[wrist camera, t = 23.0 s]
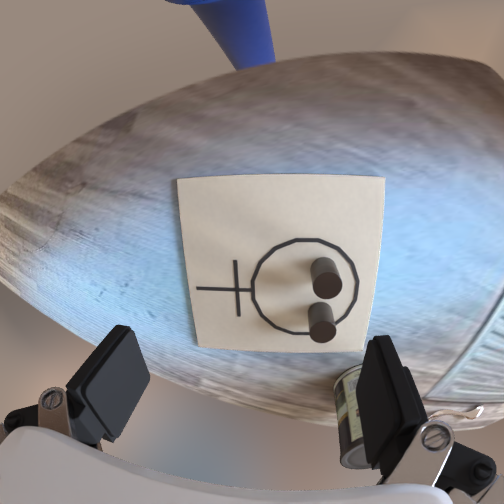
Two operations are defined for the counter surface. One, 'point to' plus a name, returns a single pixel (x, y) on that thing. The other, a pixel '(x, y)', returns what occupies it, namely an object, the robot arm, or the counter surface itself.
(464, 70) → the counter surface
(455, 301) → the counter surface
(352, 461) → the coffee can
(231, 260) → the board
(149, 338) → the counter surface
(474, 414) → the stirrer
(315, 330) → the dot
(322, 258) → the dot
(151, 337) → the counter surface
